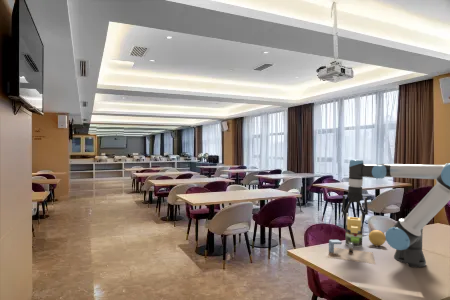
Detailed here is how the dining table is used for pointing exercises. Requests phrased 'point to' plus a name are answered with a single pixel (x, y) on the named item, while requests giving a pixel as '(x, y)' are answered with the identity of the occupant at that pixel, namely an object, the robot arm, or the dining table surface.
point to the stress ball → (377, 237)
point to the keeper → (331, 245)
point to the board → (352, 255)
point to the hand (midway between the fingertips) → (353, 225)
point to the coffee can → (354, 237)
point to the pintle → (350, 247)
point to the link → (354, 224)
